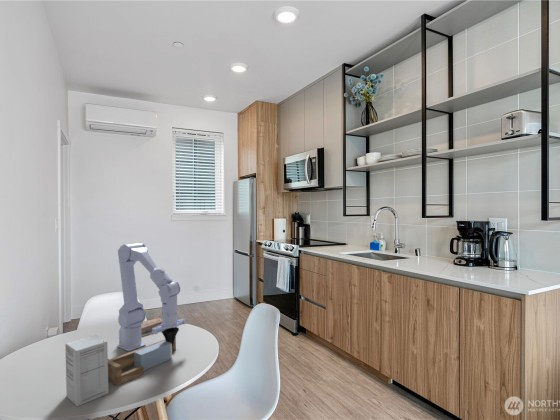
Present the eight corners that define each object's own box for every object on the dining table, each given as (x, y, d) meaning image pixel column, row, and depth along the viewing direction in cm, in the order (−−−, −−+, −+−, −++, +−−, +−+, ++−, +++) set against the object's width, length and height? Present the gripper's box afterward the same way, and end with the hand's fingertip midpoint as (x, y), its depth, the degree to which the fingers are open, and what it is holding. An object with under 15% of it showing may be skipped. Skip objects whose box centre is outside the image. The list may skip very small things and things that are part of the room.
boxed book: (134, 368, 124) (134, 351, 124) (164, 355, 134) (164, 340, 134) (141, 371, 121) (141, 355, 121) (171, 358, 132) (171, 343, 132)
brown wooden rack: (101, 376, 118) (101, 359, 118) (173, 348, 142) (173, 333, 142) (116, 385, 112) (116, 367, 112) (188, 354, 136) (188, 339, 136)
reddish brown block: (157, 315, 172) (168, 319, 166) (157, 325, 172) (168, 329, 166) (122, 325, 158) (133, 330, 151) (122, 335, 158) (134, 340, 151)
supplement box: (97, 384, 113) (96, 334, 113) (109, 393, 107) (109, 340, 107) (65, 396, 106) (64, 342, 105) (76, 407, 100) (75, 350, 100)
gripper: (159, 319, 126) (160, 355, 126) (190, 309, 138) (191, 342, 138) (148, 316, 130) (149, 350, 130) (179, 307, 142) (180, 339, 142)
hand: (170, 346), depth 134 cm, fingers closed
